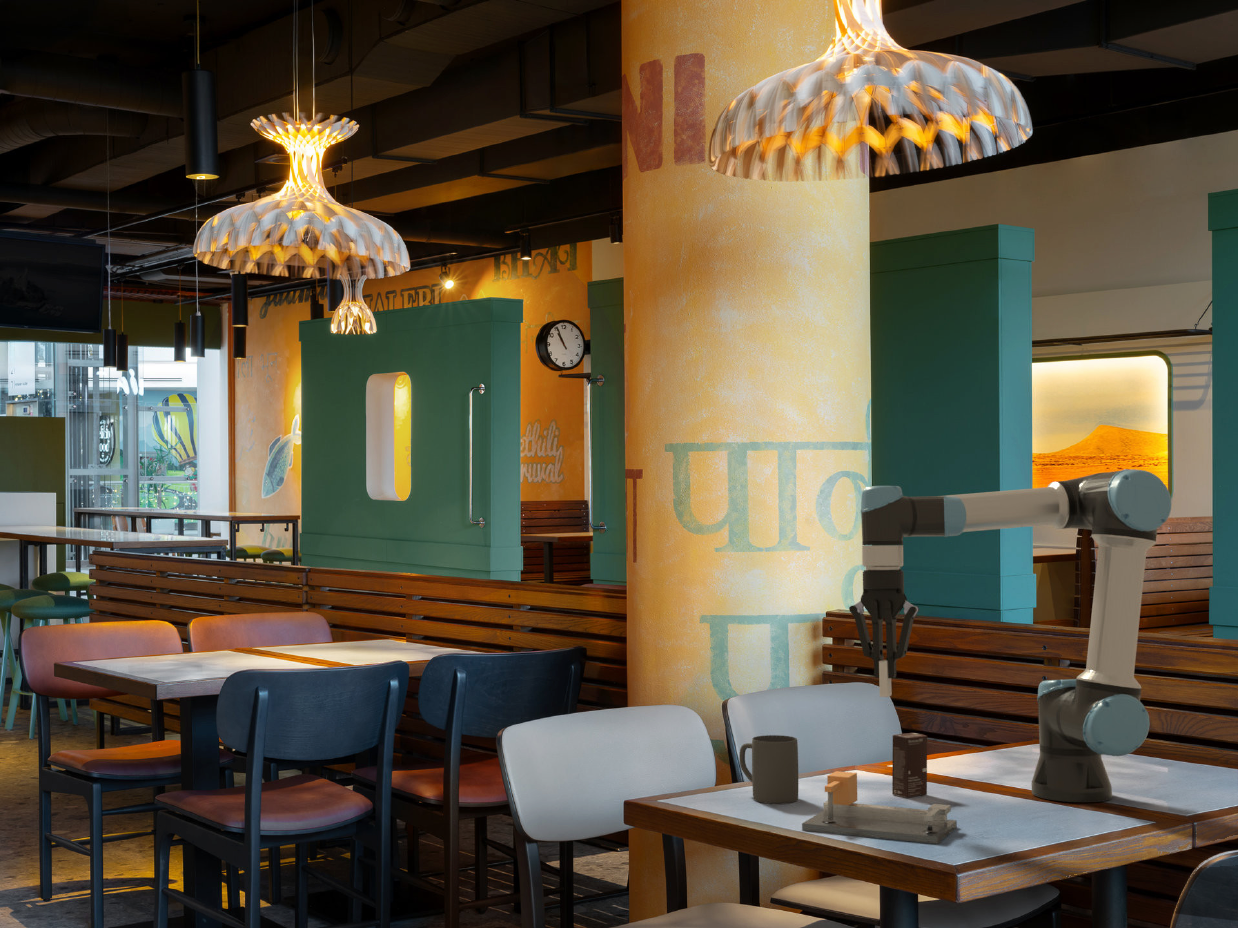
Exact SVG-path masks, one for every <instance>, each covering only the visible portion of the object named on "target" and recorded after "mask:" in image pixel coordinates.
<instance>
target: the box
mask: <svg viewBox="0 0 1238 928" xmlns="http://www.w3.org/2000/svg"><path fill="white" fill-rule="evenodd" d="M891 762H892V768H891V769H892V773H891V775H892V776H891V777H892V780H891V781H892V782H891V783H892V788H891V790H892V791H891V792H892V795H893V796H895V797H900V798H910V797H918V796H922V795H923V796H926V795H927V794H928V735H925V734H923V733H916V732H909V733H899V734H892V761H891Z"/></svg>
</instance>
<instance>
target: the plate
mask: <svg viewBox="0 0 1238 928" xmlns="http://www.w3.org/2000/svg"><path fill="white" fill-rule="evenodd" d="M957 825H958V824H957V819H956V820H953V819H947V824H946V825H944V826H940V825H933V831H928V830H927V824H919V823H909V822H899V821H888V820H878V819H867V818H857V817H846V816H836V815H833V820H828V815H825V814H824V810H823V811H820V812H819V813H817V814H815V815H814V816H812V817H811V818H809V819H807V820H805V821H804V822H802V823H801V830H802V831H805V832H806V831H807V832H816V833H825V834H826V833H827V834H834V835H846V836H855V837H864V838H874V839H875V838H876V839H886V840H894V841H902V842H903V841H904V842H915V843H921V844H922V843H925V844H930V845H931V844H934V845H939V843H941V842H942V841H943V840H944V839H945V838H946V837H948V836H949V834H951V833H953V832H954V830H955V829H957Z"/></svg>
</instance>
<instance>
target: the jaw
mask: <svg viewBox="0 0 1238 928" xmlns="http://www.w3.org/2000/svg"><path fill="white" fill-rule="evenodd" d="M826 779H827V782H826V783H827V784H826V785H824V793H827V801H828V820H833V804H838V805H851V804H852V803H856V802H858V772H853V771H852V772H849V771H840V770H839V771H837V770H835V771H834V772H832V773H830V774H828V775H827V777H826Z"/></svg>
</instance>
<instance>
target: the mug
mask: <svg viewBox="0 0 1238 928" xmlns="http://www.w3.org/2000/svg"><path fill="white" fill-rule="evenodd" d="M798 746H799V745H798V738H797V737H794V736H789V735H779V734H777V735H776V734H772V735H771V734H770V735H768V734H767V735H758V736H757V735H756V736H753V737H752V740H751V742H748V743H743V744H742V745H741V747H740V750H739V758H738V759H739V766H740V769H741V770H742V772H743V774H744V775H745V777H746V778H747V779H748V780H749V782H750V783H752V784H751V785H752V798H753V801H756V802H758V803H763V804H771V805H772V804H773V805H785V804H791V803H792V804H793V803H795V802H798V801H799V800H798V799H799V747H798ZM747 749H751V771H750V770H749V769H748V767H747V764H746V751H747Z"/></svg>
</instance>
